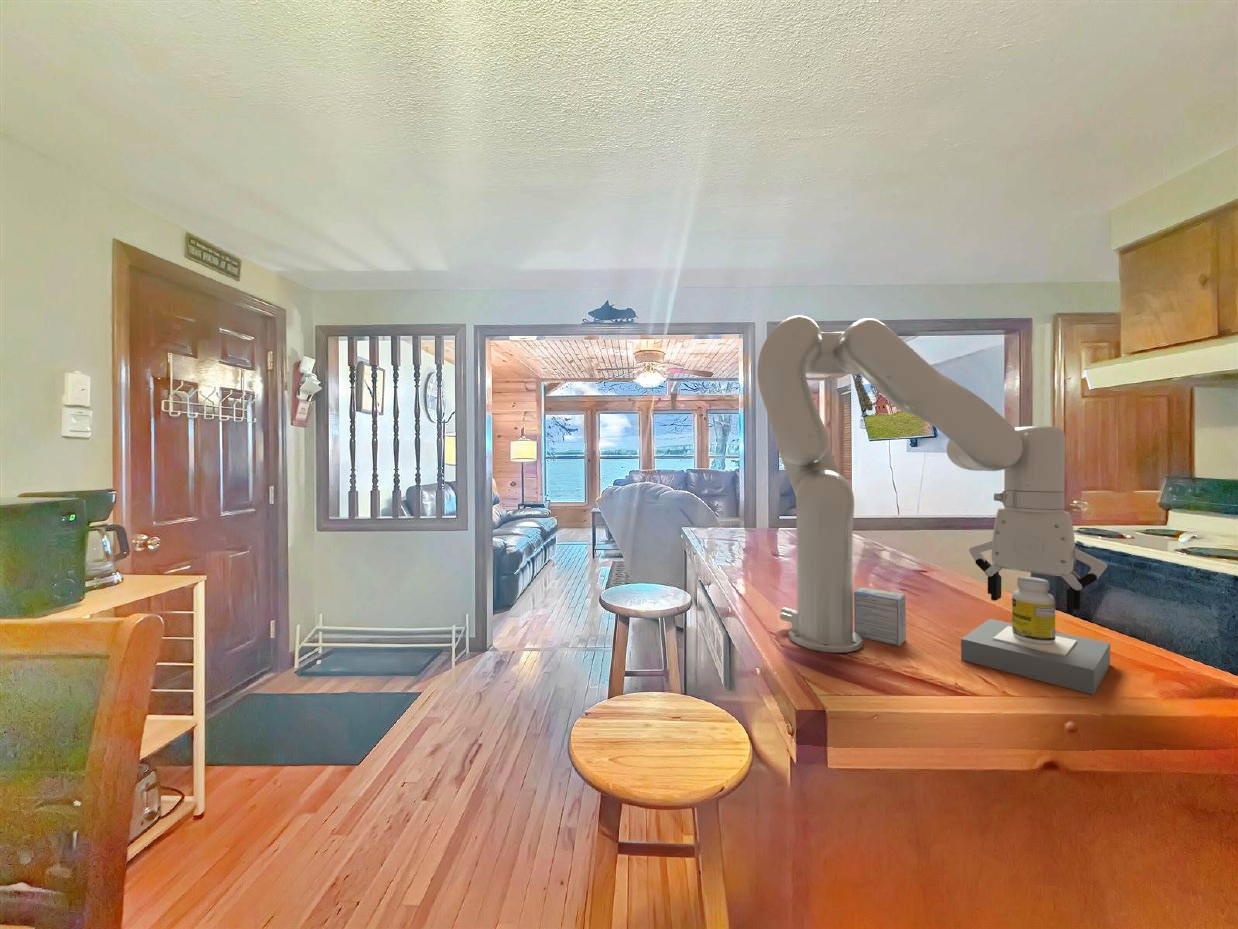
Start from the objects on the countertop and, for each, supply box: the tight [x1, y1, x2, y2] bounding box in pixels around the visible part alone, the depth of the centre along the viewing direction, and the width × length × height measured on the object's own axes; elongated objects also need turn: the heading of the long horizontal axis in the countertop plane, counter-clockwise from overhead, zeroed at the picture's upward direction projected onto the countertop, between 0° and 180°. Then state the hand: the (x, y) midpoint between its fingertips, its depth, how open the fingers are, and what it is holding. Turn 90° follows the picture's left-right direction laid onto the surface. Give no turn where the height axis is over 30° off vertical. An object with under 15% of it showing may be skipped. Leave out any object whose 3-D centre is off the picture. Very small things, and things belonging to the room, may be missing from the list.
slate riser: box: [960, 618, 1111, 696], centre depth 80 cm, size 16×16×4 cm
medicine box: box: [853, 587, 907, 647], centre depth 91 cm, size 8×4×9 cm, turn 47°
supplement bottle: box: [1011, 576, 1056, 644], centre depth 80 cm, size 5×5×10 cm
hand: (1032, 605), depth 80 cm, fingers open, 9 cm apart
